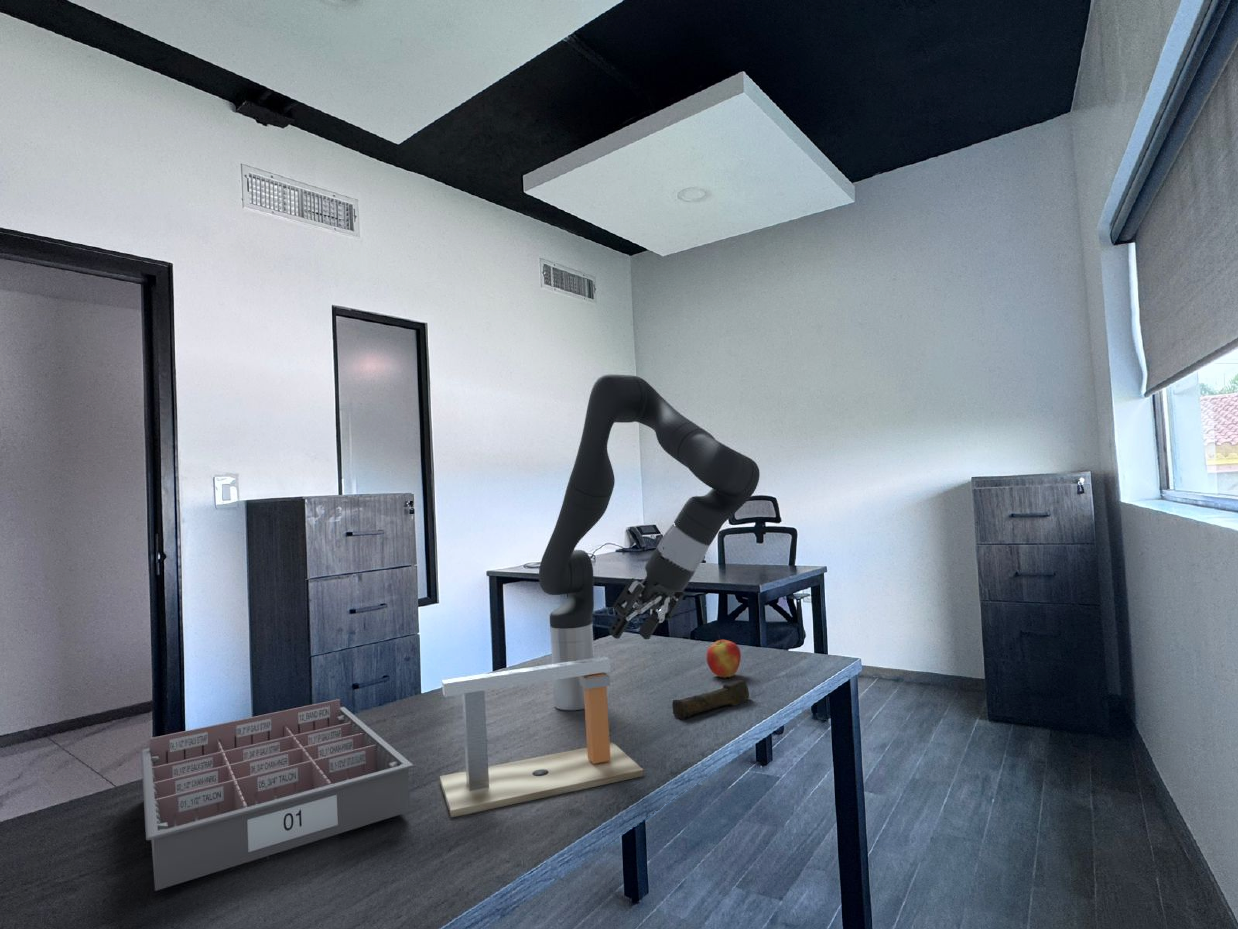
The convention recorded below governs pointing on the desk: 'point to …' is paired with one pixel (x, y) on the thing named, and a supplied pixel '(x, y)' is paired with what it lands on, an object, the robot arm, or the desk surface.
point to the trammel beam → (477, 684)
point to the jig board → (536, 779)
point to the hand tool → (711, 699)
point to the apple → (723, 658)
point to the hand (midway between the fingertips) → (628, 636)
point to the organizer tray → (264, 788)
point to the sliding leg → (596, 716)
